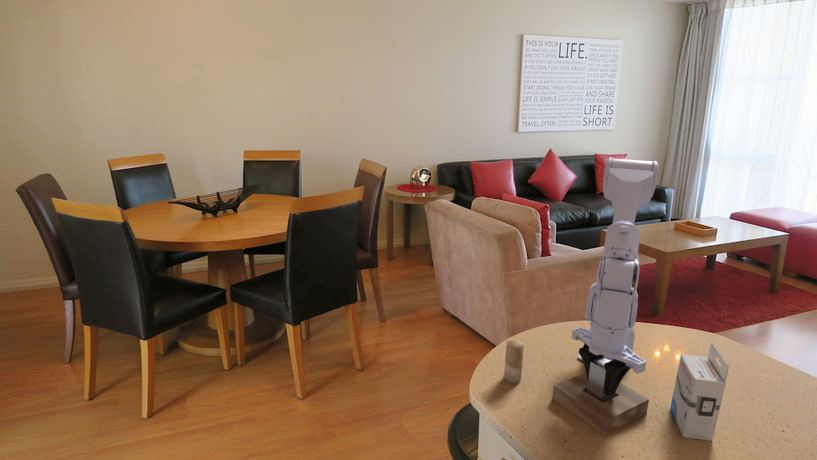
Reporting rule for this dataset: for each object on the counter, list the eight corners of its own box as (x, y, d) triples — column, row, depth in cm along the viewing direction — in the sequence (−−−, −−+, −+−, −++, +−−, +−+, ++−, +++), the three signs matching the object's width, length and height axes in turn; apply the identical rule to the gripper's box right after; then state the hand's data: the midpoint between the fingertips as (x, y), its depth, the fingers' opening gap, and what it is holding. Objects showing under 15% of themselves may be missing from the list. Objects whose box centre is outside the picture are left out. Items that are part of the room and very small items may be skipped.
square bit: (597, 393, 100) (602, 356, 97) (612, 402, 97) (618, 365, 95) (585, 398, 98) (590, 361, 96) (600, 408, 95) (606, 370, 93)
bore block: (593, 381, 106) (595, 368, 105) (646, 413, 96) (649, 399, 95) (552, 399, 100) (553, 385, 99) (604, 435, 90) (606, 420, 89)
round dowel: (512, 372, 108) (515, 338, 106) (524, 380, 105) (527, 345, 103) (500, 377, 107) (503, 342, 104) (511, 385, 104) (514, 350, 101)
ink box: (669, 408, 98) (682, 338, 93) (697, 412, 97) (712, 341, 92) (682, 438, 90) (698, 362, 85) (713, 442, 89) (730, 366, 84)
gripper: (564, 311, 97) (556, 375, 101) (632, 345, 85) (620, 416, 89) (589, 303, 100) (581, 365, 104) (658, 335, 88) (646, 403, 92)
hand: (601, 388), depth 97 cm, fingers closed on square bit, 3 cm apart
